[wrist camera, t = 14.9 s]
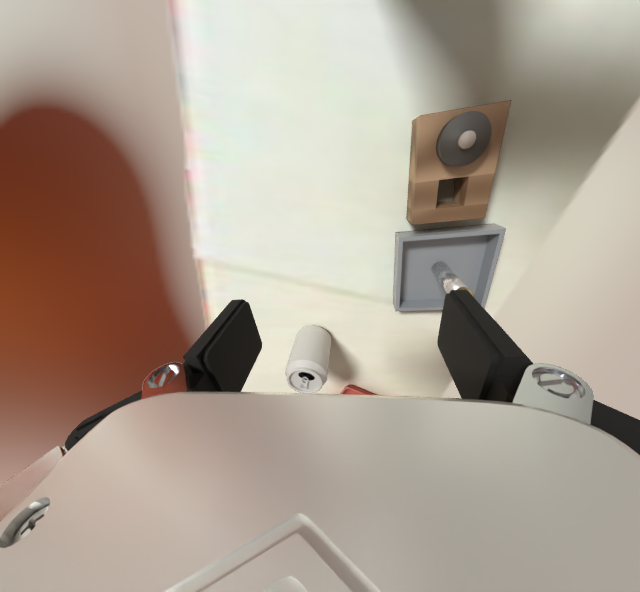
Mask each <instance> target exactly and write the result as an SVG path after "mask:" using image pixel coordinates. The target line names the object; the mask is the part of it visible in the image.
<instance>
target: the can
mask: <svg viewBox="0 0 640 592" xmlns="http://www.w3.org/2000/svg"><path fill="white" fill-rule="evenodd" d="M330 349H331V336H330V335H329V333H328V332H327V331H326V330H325V329H323V328H321V327H319V326H314V325H312V326H306V327H303V328H302V329H300V330H299V331H298V333H297V335H296V339H295V342H294V345H293V348H292V351H291V354H290V357H289V360H288V363H287V367H286V372H285V374H286V376H287V382H288V384H289V386H290V387H291V388H292V389H294V390H295V391H298V392H300V393H310V394H311V393H315V392H317V391H319V390H320V389H321V388H322V385H324V383H325V382H326V380H327V374H328V366H329V358H330Z"/></svg>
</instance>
